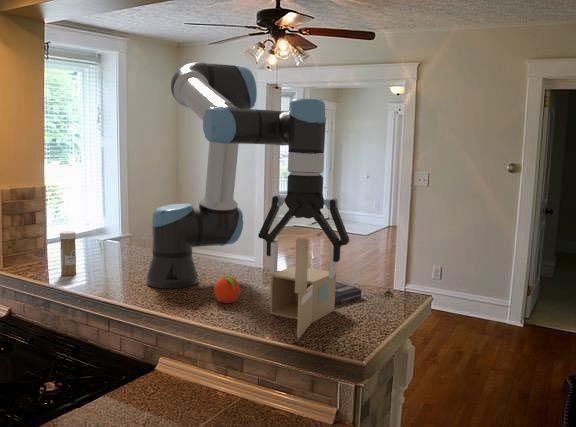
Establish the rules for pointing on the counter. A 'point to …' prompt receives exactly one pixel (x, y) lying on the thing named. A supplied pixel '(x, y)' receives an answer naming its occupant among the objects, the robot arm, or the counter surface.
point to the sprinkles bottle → (68, 253)
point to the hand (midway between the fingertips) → (302, 273)
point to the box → (346, 293)
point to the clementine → (226, 289)
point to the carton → (287, 299)
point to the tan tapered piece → (303, 287)
